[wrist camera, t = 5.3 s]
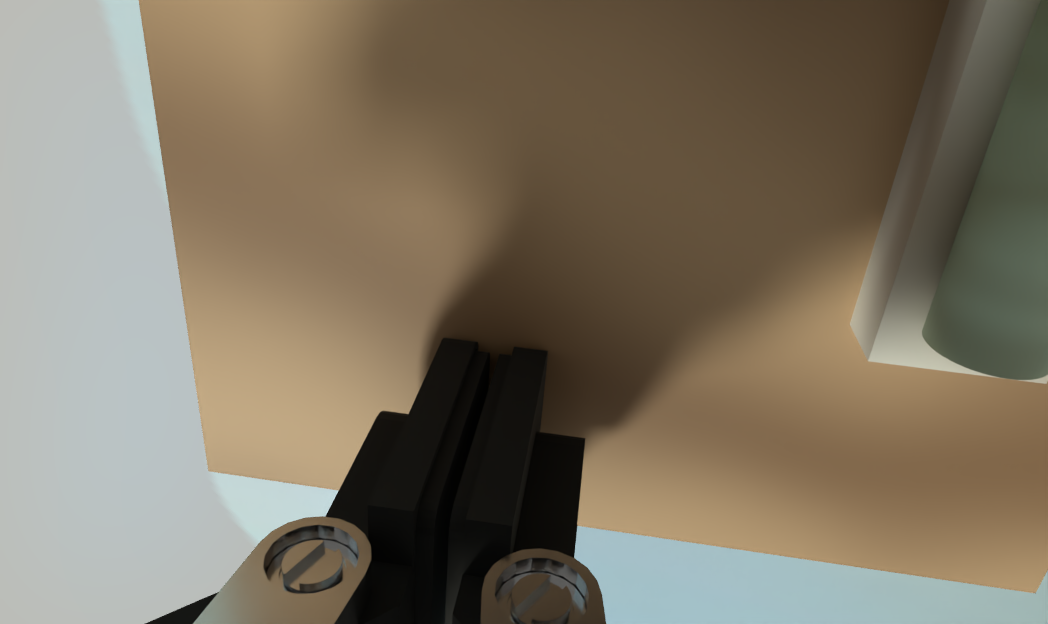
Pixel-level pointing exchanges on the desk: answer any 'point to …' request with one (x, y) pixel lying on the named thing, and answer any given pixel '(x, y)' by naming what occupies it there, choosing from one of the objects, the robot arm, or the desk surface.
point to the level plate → (638, 252)
